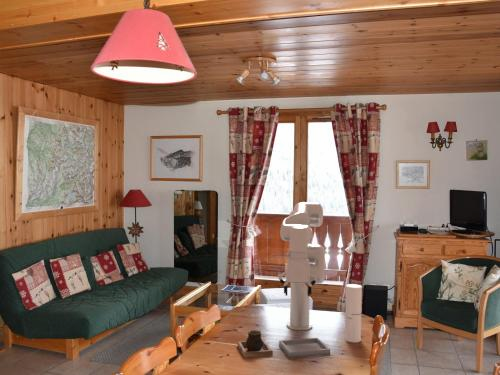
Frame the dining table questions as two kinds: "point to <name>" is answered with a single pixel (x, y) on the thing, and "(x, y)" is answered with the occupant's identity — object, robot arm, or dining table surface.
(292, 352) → the tray
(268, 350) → the tray
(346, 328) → the cylindrical container
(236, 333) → the dining table surface
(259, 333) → the mate gourd
